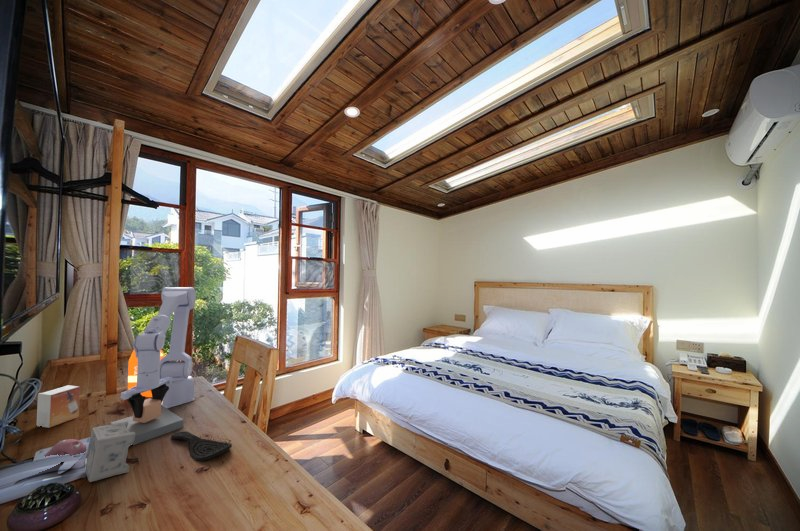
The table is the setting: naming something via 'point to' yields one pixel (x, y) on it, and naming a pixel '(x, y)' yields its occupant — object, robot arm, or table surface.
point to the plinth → (153, 425)
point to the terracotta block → (149, 410)
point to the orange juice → (133, 373)
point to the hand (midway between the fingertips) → (147, 413)
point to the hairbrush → (203, 446)
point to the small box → (58, 406)
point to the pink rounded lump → (67, 448)
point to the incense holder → (108, 451)
